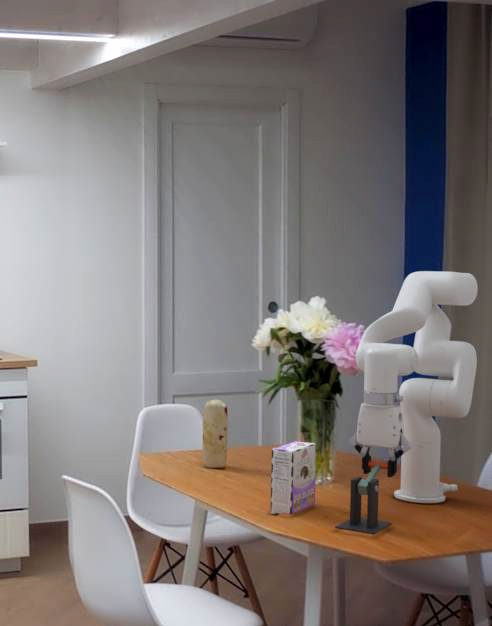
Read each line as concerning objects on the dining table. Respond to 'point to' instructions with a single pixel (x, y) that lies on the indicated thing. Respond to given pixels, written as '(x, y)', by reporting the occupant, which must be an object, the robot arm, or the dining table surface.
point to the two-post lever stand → (371, 523)
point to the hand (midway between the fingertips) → (379, 473)
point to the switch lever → (370, 476)
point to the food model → (215, 434)
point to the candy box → (293, 477)
